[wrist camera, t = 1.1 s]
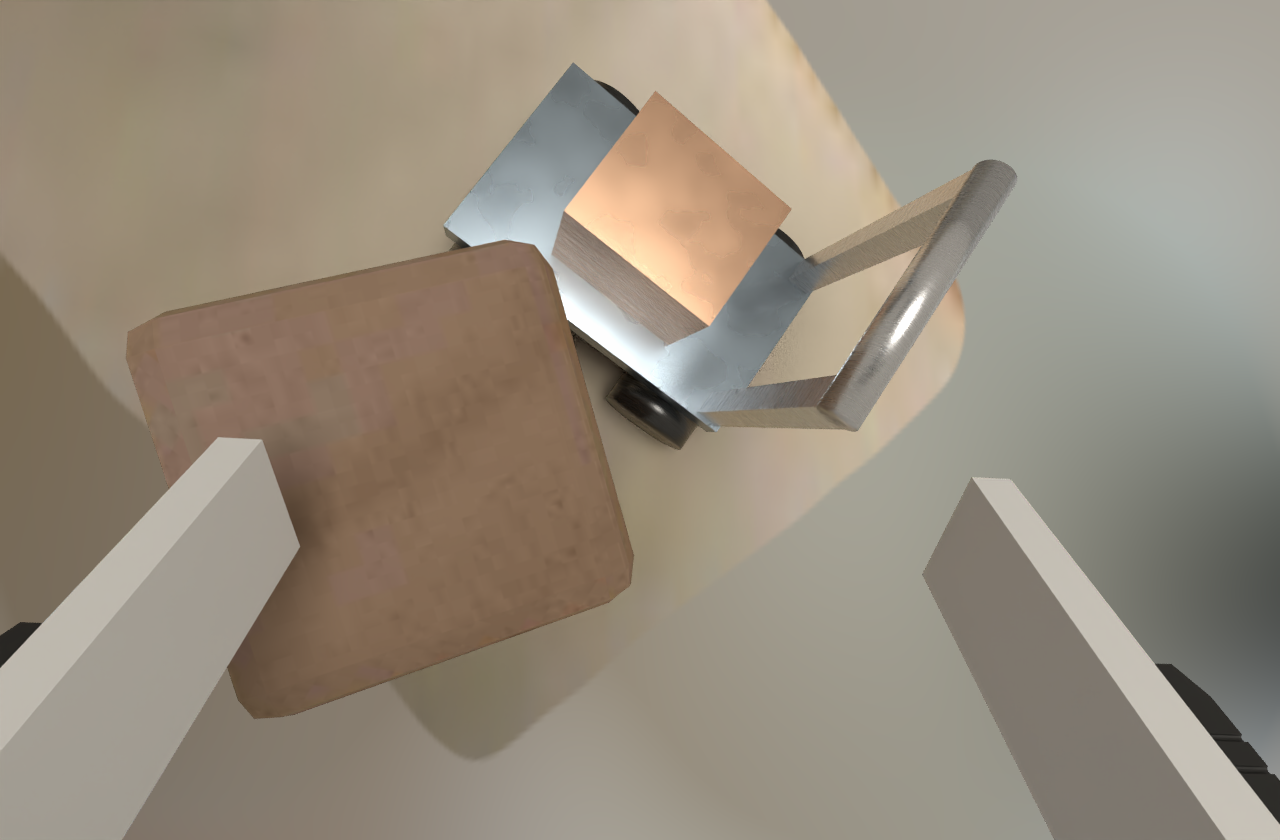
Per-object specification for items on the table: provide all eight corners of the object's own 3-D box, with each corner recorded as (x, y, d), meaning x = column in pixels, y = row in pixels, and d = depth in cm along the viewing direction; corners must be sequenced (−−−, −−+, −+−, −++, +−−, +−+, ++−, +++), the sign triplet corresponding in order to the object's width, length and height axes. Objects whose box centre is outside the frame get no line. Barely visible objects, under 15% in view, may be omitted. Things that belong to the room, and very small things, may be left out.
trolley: (440, 281, 33) (360, 100, 15) (573, 112, 35) (655, -246, 16) (666, 447, 36) (843, 475, 17) (779, 284, 38) (1052, 148, 19)
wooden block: (569, 501, 35) (652, 600, 16) (392, 556, 33) (232, 753, 13) (520, 333, 34) (544, 219, 15) (337, 379, 32) (86, 314, 13)
